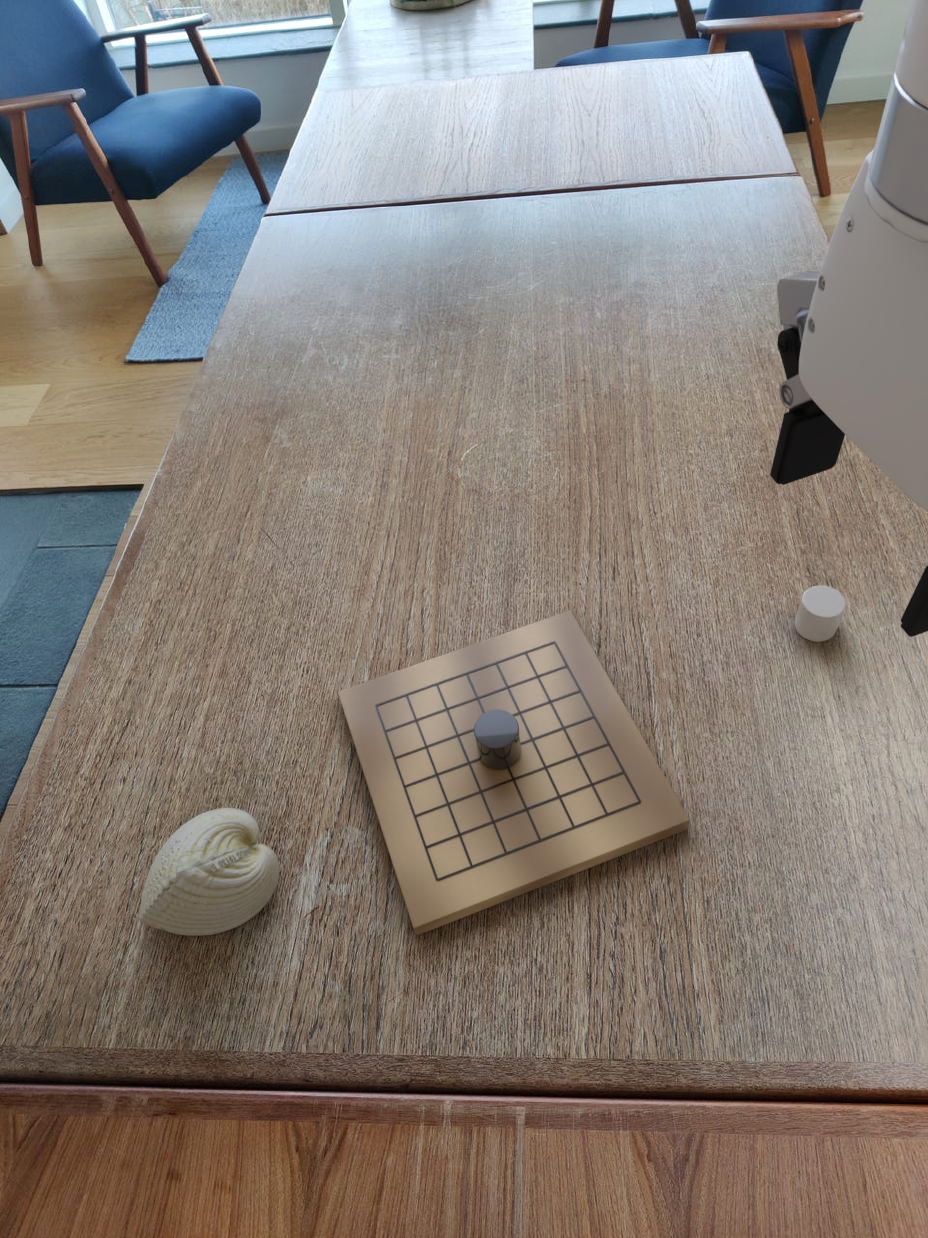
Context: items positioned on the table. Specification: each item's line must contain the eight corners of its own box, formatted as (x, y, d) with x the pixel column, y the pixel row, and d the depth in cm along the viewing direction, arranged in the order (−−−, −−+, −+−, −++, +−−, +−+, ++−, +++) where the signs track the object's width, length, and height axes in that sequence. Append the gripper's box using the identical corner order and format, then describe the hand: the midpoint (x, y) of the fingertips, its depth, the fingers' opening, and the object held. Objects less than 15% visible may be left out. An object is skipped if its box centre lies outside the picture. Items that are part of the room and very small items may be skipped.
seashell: (309, 881, 60) (205, 937, 54) (260, 918, 65) (162, 973, 59) (253, 776, 61) (147, 821, 56) (210, 821, 67) (110, 866, 61)
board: (570, 620, 74) (570, 608, 72) (688, 829, 61) (690, 819, 60) (341, 701, 71) (337, 690, 70) (416, 936, 59) (413, 928, 58)
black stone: (511, 725, 66) (509, 703, 64) (527, 761, 64) (525, 739, 62) (471, 740, 66) (467, 718, 63) (486, 776, 64) (482, 754, 61)
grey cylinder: (821, 605, 72) (830, 579, 69) (844, 634, 70) (854, 609, 67) (786, 618, 72) (794, 592, 69) (808, 647, 70) (817, 622, 67)
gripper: (1406, 250, 21) (1082, 660, 35) (931, 19, 31) (825, 404, 45) (1142, 339, 20) (915, 726, 34) (742, 71, 30) (692, 448, 44)
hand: (863, 541), depth 39 cm, fingers open, 9 cm apart
